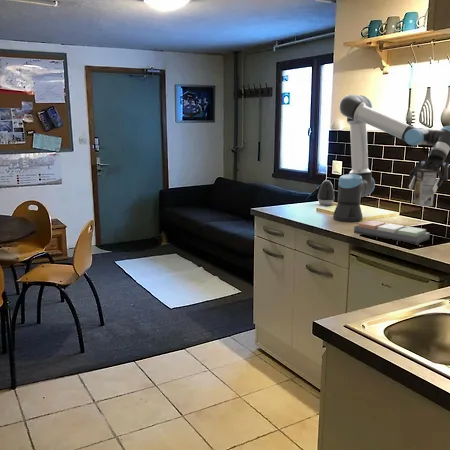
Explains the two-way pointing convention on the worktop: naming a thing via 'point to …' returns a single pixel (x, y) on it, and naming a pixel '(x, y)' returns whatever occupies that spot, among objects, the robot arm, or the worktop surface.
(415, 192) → the coffee box
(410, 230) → the key sage
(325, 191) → the dark grey egg shape
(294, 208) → the worktop surface
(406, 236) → the keypad
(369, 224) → the key terracotta
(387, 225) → the key grey
